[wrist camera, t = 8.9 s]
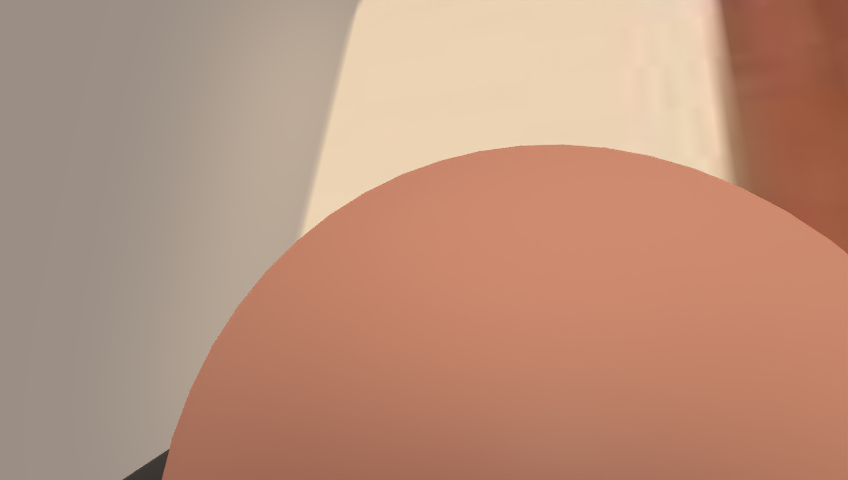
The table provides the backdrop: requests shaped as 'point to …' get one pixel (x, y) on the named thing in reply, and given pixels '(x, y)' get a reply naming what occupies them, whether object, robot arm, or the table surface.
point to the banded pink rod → (534, 334)
